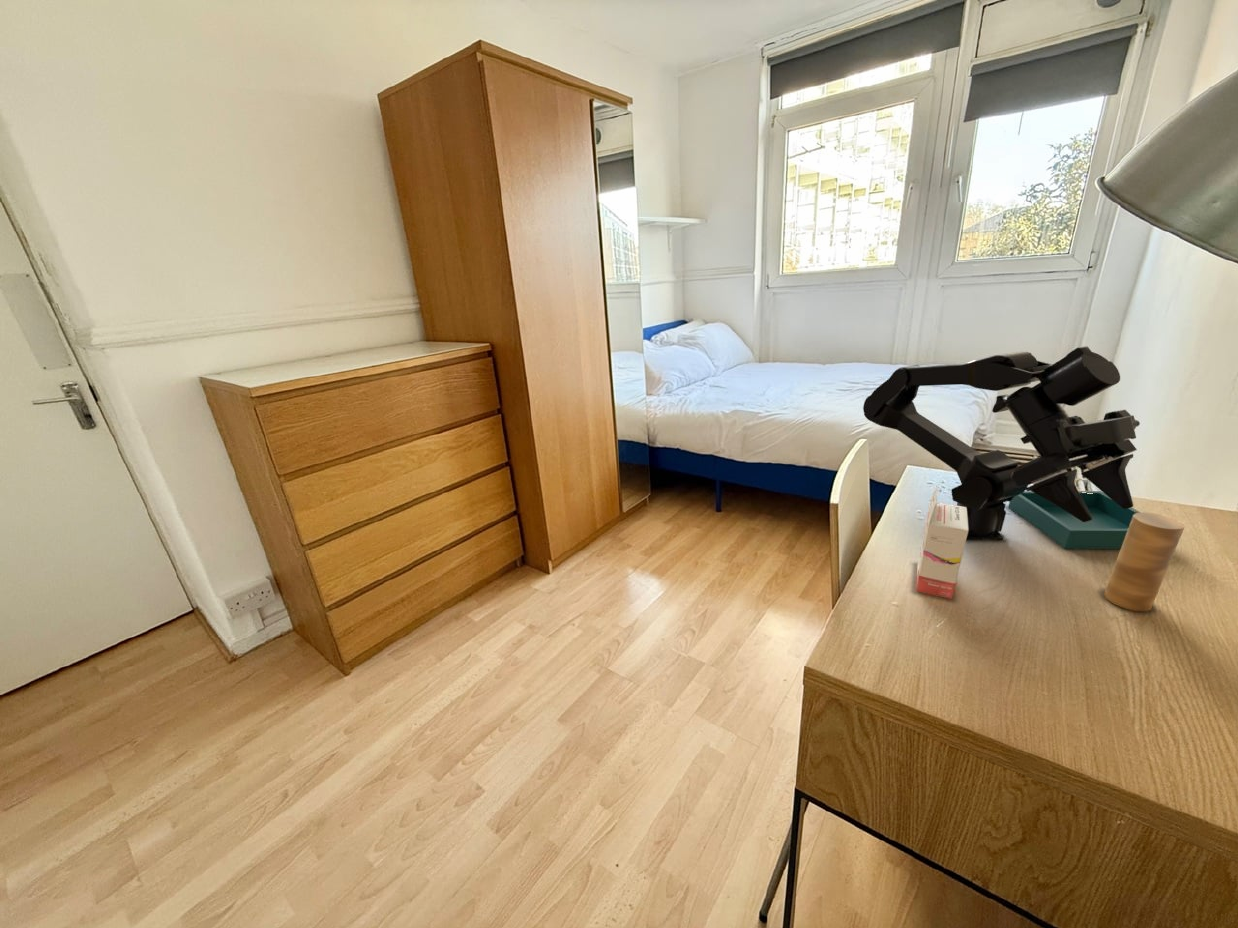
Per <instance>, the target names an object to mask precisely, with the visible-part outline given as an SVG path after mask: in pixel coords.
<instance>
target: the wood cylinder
mask: <svg viewBox="0 0 1238 928" xmlns="http://www.w3.org/2000/svg"><path fill="white" fill-rule="evenodd" d="M1185 526H1186V525H1185V524H1184V523H1183V522H1181V521H1179V520H1178V519H1175V518H1173V517H1170V516H1167V515H1162V514H1158V513H1154V512H1153V513H1152V512H1141V513H1135V514H1134V515H1133V517H1132V519H1131V522H1130V525H1129V527H1128V530H1127V533H1126V536H1125V538H1124V541H1123V544H1122V547H1121V549H1119V551H1118V555H1117V558H1116V560H1115V563H1114V565H1113V569H1112V571H1111V574H1110V577H1109V580H1108V582H1107V585H1106V588H1105V591H1104V597H1105V599H1106V600H1107V601H1108V602H1110V603H1112V604H1114V605H1116V606H1117V607H1120V608H1123V609H1126V610H1130V611H1134V612H1148V611H1150V610H1152V607H1153V605H1154V602H1155V599H1156V597H1157V594H1158V593H1159V590H1160V587H1161V585H1162V583H1163V580H1164V578H1165V576H1166V573H1167V571H1168V569H1169V566H1170V563H1171V561H1172V559H1173V556H1174V554H1175V552H1176V549H1177V548H1178V547H1177V546H1178V545H1179V542H1180V539H1181V537H1182V534H1183V532H1184V530H1185Z"/></svg>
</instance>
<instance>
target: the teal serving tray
mask: <svg viewBox="0 0 1238 928" xmlns="http://www.w3.org/2000/svg"><path fill="white" fill-rule="evenodd" d="M1078 492H1079V493H1080V495H1081V497H1082V499H1083V501H1084V503H1085V504H1086V506H1087V508H1088V510H1089V512H1090V514H1091V517H1092V520H1090V521H1087V522H1082V521H1081V520H1079V519H1077V518H1076V517H1074V516H1073V515H1071V514H1069V513H1068V512H1066V511H1065V510H1063V509H1061V508H1060V507H1058V506H1057V505H1055V504H1053V503H1052V502H1050V501H1048V500H1046V499H1045V498H1043V497H1041V496H1039V495H1037V494H1036V493H1034V492H1032V491H1027V490H1025V491H1024V492H1023V493H1022V494H1019V495H1017V496H1015V497H1014V498H1013V499H1012V501H1008V506H1007V507H1008V509H1010V510H1011V511H1012V512H1013V513H1015V514H1017V515H1018V516H1019V517H1021V518H1022V519H1023V520H1025V521H1026V522H1028V523H1029V524H1030V525H1032V526H1033V527H1034V528H1036V529H1037V530H1039V531H1040V532H1042V533H1043V534H1044V535H1045V536H1047V537H1048V538H1050V539H1051V540H1052V541H1054V542H1055V543H1056V544H1058V546H1060V547H1062V548H1063V549H1065V550H1067V549H1070V550H1072V549H1073V550H1074V549H1079V550H1081V549H1084V550H1086V549H1087V550H1120V549H1121V547H1122V544H1123V541H1124V538H1125V536H1126V533H1127V530H1128V527H1129V525H1130V522H1131V519H1132V517H1133V515H1134V514H1135V513H1142V512H1141V511H1139V510H1137V509H1135V508H1133V507H1131V508H1127V509H1124V508H1122V507H1121V506H1119V505H1118V504H1117V503H1115V502H1114V501H1113V500H1112V499H1111V498H1109V497H1108V496H1107V495H1106V494H1105V493H1103V492H1102V491H1101V490H1078ZM1082 492H1086V493H1082ZM1087 493H1093V494H1087Z"/></svg>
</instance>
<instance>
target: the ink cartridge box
mask: <svg viewBox="0 0 1238 928" xmlns="http://www.w3.org/2000/svg"><path fill="white" fill-rule="evenodd" d="M937 500H938V485H935V487H934V490H933V493H932V497H931V500H930V502H929V507H928V511H927V516H926V519H925V520H926V521H925V526H924V531H923V536H922V539H921V540H922V541H921V546H920V551H919V554H918V560H917V569H916V572H917V573H916V592H920V593H924V594H928V595H933V596H937V597H941V598H944V599H949V600H952V599H953V595H954V592H955V587H956V584H957V579H958V575H959V570H960V566H961V562H962V557H963V554H964V549H965V546H966V542H967V539H966V538H967V535H968V516H967V508H966V507H962V506H957V504H956V505H955V504H949V503H942V502H937Z"/></svg>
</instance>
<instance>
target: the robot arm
mask: <svg viewBox="0 0 1238 928" xmlns="http://www.w3.org/2000/svg"><path fill="white" fill-rule="evenodd" d="M1120 381H1121V374H1120V371H1119V369H1118V367H1117V366H1116V365H1115V363H1114V362H1113V361H1109V360H1108V359H1107V358H1106V357H1104V356H1103V355H1101V354H1100V353H1096V352H1094V351H1092V349H1090V347H1089V346H1080V347H1079V346H1078V347H1076V348H1074V349H1073V350H1071V351H1069V352H1068V353H1067V354H1066V355H1065V356H1064V357H1062V358H1061V359H1059V360H1057V361H1056V362H1054V363H1049V362H1046V361H1042V360H1038V359H1037V358H1036V357H1035V356H1034V355H1033V354H1032V353H1031V352H1029V351H1023V350H1021V351H1014V352H1008V353H1002V354H996V355H990V356H986V357H982V358H978V359H974V360H971V361H969V362H956V363H943V364H927V365H918V364H914V365H908V366H902V367H898V368H897V369H896V370H894V371H893V373H892V374H891V375H890V377H889V378H887V379H886V380H885V381H883V382H882V383H881V384H880V385H879V386H877V388H875V389H874V390H873V391H872V392H871V394H870V395H868V396H867V397H866V398H865V400H864V403H863V407H862V410H863V415H864V417H865V418H866V419H867V420H868V421H869V422H871V423H874V424H875V425H878V426H880V427H883V428H888V429H892V430H896V431H898V432H900V433H901V434H903V435H904V436H905V437H907V438H908V439H909V440H911V441H913V442H914V443H915V444H917V445H918V446H920V448H922V449H924V450H925V451H927V452H928V453H929V454H931V455H932V456H933V457H935V458H937V459H938V460H940V461H941V462H942V463H944V464H945V465H947V466H948V467H949V468H951V469H952V470H954V471H955V472H956V474H957V476H958V478H959V481H960V485H957V486H955V487H953V488H951V497H952V501H954V502H955V503H956V506H962V507H966V508H967V516H968V535H967V538H966V540H997V541H999V540H1001V541H1002V540H1004V538H1005V536H1004V535H1003V534H1001V533H1000V532H1002V530H1003V526H1004V522H1005V519H1006V515H1007V511H1006V509H1005V508H1006V506H1007V504H1006V502H1010V501H1012V499H1013V498H1014V497H1015V496H1017V495H1019V494H1022V493H1023V492H1024V491H1032V492H1034V493H1036V494H1037V495H1039V496H1041V497H1043V498H1045V499H1046V500H1048V501H1050V502H1052V503H1053V504H1055V505H1057V506H1058V507H1060V508H1061V509H1063V510H1065V511H1066V512H1068V513H1069V514H1071V515H1073V516H1074V517H1076V518H1077V519H1079V520H1081V521H1082V522H1087V521H1090V520H1092V517H1091V514H1090V512H1089V510H1088V508H1087V506H1086V504H1085V503H1084V501H1083V499H1082V497H1081V495H1080V493H1079V492H1078V491H1079V490H1078V488H1077V486H1076V484H1075V481H1076V476H1077V472H1078V470H1077V469H1072V468H1075V467H1077V468H1078V469H1080V470H1082V471H1083V472H1081V473H1080V474H1081V475H1082V476H1083V477H1084V478H1085V479H1087V481H1089V482H1090V483H1092V484H1093V485H1094V486H1095V487H1096V488H1097V489H1099V491H1101V492H1103V493H1105V494H1106V495H1107V496H1108V497H1109V498H1111V499H1112V500H1113V501H1114V502H1115V503H1117V504H1118V505H1119V506H1121V507H1122V508H1124V509H1127V508H1133V507H1134V502H1133V499H1132V495H1131V490H1130V488H1129V487H1130V486H1129V483H1128V479H1127V473H1126V468H1127V466H1128V464H1129V462H1130V460H1132V459H1133V458H1134V454H1133V453H1134V452H1136V451H1138V449H1137V448H1136V447H1135V445H1134V444H1133V443H1132V441H1131V440H1135V439H1137V435H1136V431H1135V429H1136V428H1137V427H1139V426H1140V424H1141V423H1140V421H1139V420H1137V419H1136V418H1135V416H1134V415H1131V414H1130V412H1128V411H1127V409H1119V410H1114V411H1109V412H1106V413H1105V414H1104V416H1103V419H1099V420H1095V421H1089V422H1086V421H1084V419H1083V418H1082V417H1081V416H1078V415H1073V416H1070V415H1069V414H1068V412H1067V411H1066V409H1064V407H1063V406H1062V405H1066V406H1070V407H1074V406H1077V405H1079V404H1081V403H1083V402H1085V401H1086V400H1088V399H1091V398H1092V397H1094V396H1096V395H1098V394H1100V393H1102V392H1104V391H1106V390H1108V389H1110V388H1111V387H1113V386H1116V385H1117V384H1119V382H1120ZM1036 382H1038V383H1037V384H1035V385H1034V386H1032V387H1031V386H1029V385H1030V384H1032V383H1036ZM956 385H957V386H958V385H961V386H962V385H963V386H969V387H972V388H974V389H979V390H980V389H981V390H986V391H992V392H998V391H1003V390H1009V389H1014V388H1018V389H1017V390H1015V391H1013V392H1012V393H1010V394H1006V393H1005V394H1002V395H1001V394H1000V395H997V396H996V400H995V403H994V405H993V406H992V410H991V411H992V413H994V414H996V413H1000V412H1001V413H1002V412H1006V411H1009V413H1010V415H1011V416H1012V417H1013V418H1014V420H1015V421H1016V423H1017V424H1018V426H1019V428H1020V429H1021V430H1022V432H1023V433H1024V436H1022V437H1020V440H1021V442H1022V443H1023V445H1025V444H1029V443H1031V445H1032V447H1033V448H1034V449H1035V451H1036V452H1037V454H1038V455H1039V456H1038V457H1036V458H1034V459H1032V460H1029V461H1027V462H1025V463H1022V462H1021V461H1020V460H1015V459H1012V458H1011V457H1010V456H1008V455H1007V454H1006V453H1005V452H1003V451H1002V450H1000V449H996V450H995V449H994V450H991V451H987V452H979V451H977V450H976V449H974V448H973V447H972V446H970V445H968V444H967V443H965V442H963V441H962V440H961V439H959V438H958V437H956V436H954V435H953V434H951V433H949V432H948V431H947V430H945V429H943V428H942V427H941V426H939V425H937V424H936V423H934V422H933V421H931V420H929V419H928V418H926V417H925V416H924V415H922V414H921V413H919V412H918V410H917V408H916V405H915V402H914V401H915V399H916V397H917V395H918V391H919V388H920V387H921V386H922V387H924V386H926V387H927V386H928V387H929V386H956ZM1019 387H1020V388H1019ZM1020 464H1021V465H1020ZM1068 469H1072V470H1068Z"/></svg>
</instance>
